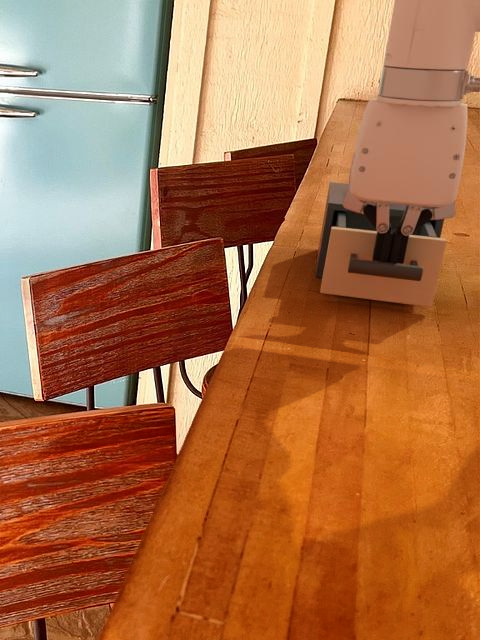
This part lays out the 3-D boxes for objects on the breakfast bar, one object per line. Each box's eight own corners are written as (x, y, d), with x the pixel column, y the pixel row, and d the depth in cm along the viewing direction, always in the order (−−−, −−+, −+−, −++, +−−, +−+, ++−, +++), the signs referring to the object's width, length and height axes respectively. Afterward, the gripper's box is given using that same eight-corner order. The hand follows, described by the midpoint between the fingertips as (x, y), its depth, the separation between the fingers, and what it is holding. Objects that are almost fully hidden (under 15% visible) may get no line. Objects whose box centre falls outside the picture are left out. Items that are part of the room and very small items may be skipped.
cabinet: (428, 291, 103) (445, 214, 100) (315, 277, 107) (328, 202, 104) (418, 260, 116) (433, 191, 113) (318, 249, 120) (329, 182, 117)
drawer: (436, 321, 90) (452, 252, 88) (319, 306, 94) (331, 238, 91) (421, 274, 107) (435, 215, 104) (322, 263, 110) (332, 204, 107)
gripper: (500, 88, 87) (459, 267, 94) (340, 81, 92) (312, 252, 99) (512, 95, 81) (468, 287, 88) (339, 86, 85) (310, 270, 92)
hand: (386, 268), depth 93 cm, fingers closed
